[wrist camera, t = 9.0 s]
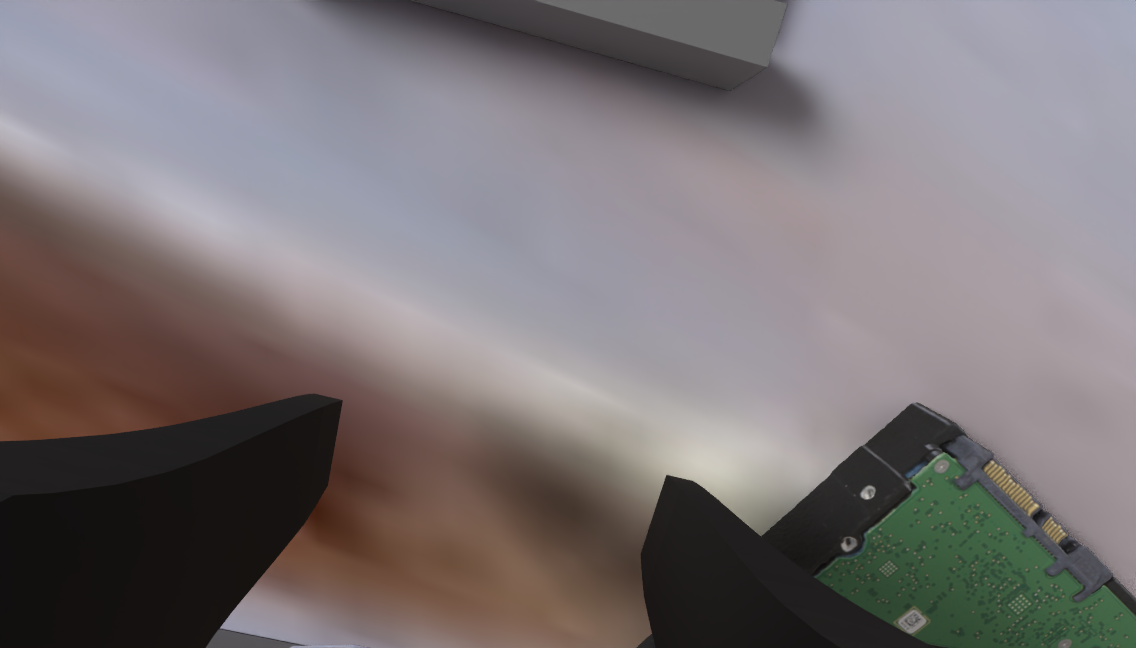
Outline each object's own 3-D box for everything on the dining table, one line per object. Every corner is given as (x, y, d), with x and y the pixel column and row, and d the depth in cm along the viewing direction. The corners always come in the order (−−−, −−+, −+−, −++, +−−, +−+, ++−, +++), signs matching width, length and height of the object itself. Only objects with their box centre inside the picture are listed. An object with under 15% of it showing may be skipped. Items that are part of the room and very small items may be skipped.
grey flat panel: (538, 723, 18) (534, 806, 15) (170, 651, 17) (105, 726, 15) (873, -380, 11) (958, -538, 9) (299, -581, 10) (220, -817, 8)
